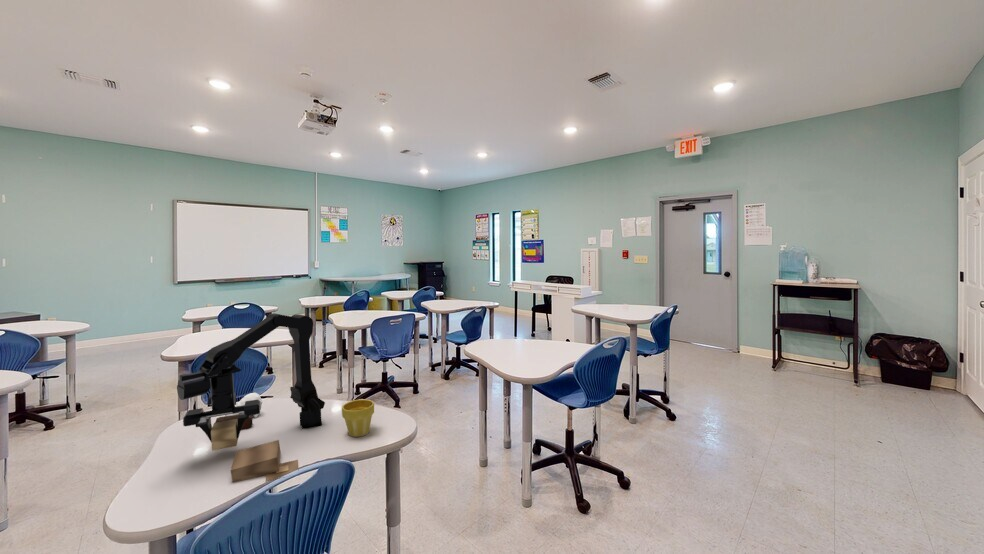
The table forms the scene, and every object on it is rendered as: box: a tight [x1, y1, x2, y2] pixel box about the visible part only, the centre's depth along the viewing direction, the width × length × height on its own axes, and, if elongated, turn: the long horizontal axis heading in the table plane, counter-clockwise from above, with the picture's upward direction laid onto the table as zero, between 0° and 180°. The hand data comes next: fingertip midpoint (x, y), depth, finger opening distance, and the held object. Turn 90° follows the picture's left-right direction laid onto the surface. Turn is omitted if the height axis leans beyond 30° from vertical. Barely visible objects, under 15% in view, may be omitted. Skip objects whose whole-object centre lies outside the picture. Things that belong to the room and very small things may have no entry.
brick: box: [214, 415, 253, 431], centre depth 139 cm, size 11×4×5 cm, turn 118°
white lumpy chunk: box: [224, 392, 263, 419], centre depth 147 cm, size 6×8×12 cm
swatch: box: [265, 459, 299, 482], centre depth 112 cm, size 8×8×1 cm
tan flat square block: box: [230, 439, 282, 483], centre depth 114 cm, size 11×11×4 cm
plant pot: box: [341, 398, 375, 438], centre depth 136 cm, size 10×10×10 cm
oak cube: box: [210, 419, 239, 452], centre depth 120 cm, size 6×6×6 cm
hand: (225, 439), depth 120 cm, fingers closed on oak cube, 6 cm apart
